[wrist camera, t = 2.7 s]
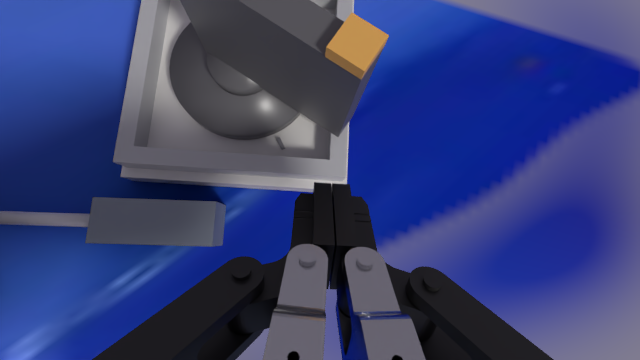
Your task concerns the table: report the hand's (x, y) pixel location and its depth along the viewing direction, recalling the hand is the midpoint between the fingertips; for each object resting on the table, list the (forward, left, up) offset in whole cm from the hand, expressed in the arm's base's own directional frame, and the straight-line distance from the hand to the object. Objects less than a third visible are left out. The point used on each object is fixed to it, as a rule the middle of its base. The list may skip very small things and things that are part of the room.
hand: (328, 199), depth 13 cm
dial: (-4, +8, -6) cm, 11 cm away
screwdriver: (-13, -1, -8) cm, 15 cm away
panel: (-5, +8, -8) cm, 13 cm away
